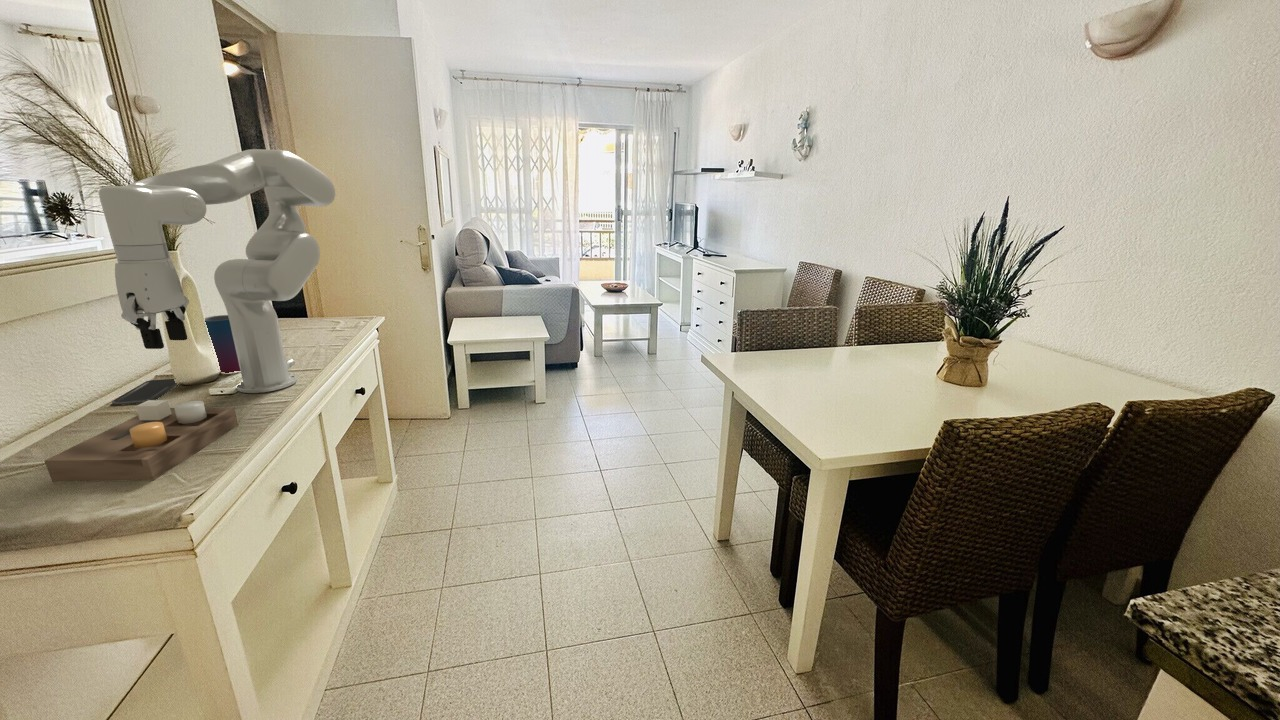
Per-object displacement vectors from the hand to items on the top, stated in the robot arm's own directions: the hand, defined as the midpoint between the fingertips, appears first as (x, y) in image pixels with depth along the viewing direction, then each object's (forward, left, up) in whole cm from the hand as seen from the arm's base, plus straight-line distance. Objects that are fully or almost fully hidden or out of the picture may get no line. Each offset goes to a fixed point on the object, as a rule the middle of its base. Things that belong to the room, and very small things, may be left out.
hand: (166, 343), depth 105 cm
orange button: (+18, +8, -13) cm, 24 cm away
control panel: (+13, +3, -17) cm, 22 cm away
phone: (-17, -21, -18) cm, 32 cm away
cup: (-32, -12, -18) cm, 38 cm away
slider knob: (+7, 0, -13) cm, 15 cm away
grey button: (+8, +8, -13) cm, 17 cm away
